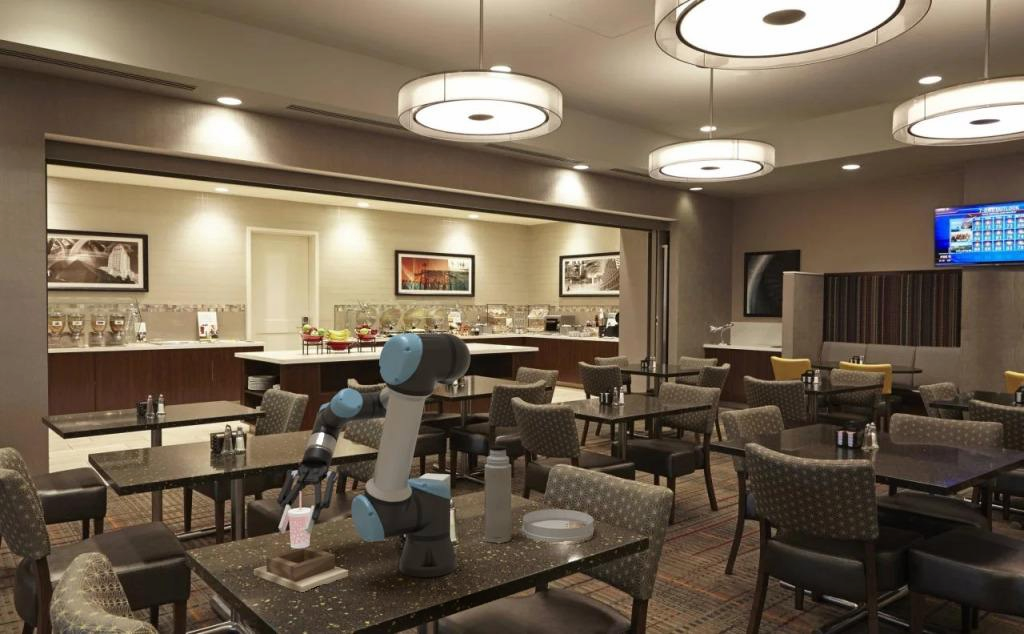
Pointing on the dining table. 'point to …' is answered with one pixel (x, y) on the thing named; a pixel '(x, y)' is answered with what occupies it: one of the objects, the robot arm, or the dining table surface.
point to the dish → (556, 525)
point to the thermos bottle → (497, 495)
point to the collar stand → (301, 569)
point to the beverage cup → (299, 526)
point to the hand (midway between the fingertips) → (294, 530)
